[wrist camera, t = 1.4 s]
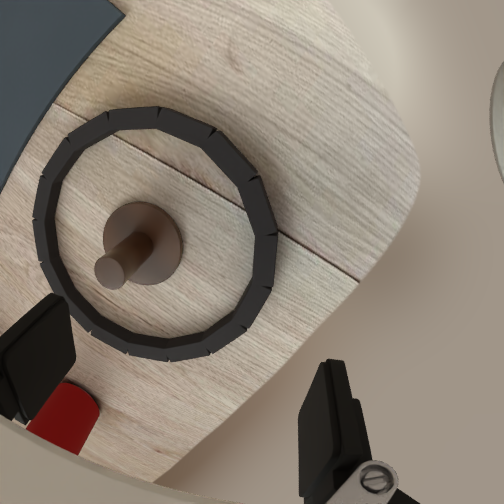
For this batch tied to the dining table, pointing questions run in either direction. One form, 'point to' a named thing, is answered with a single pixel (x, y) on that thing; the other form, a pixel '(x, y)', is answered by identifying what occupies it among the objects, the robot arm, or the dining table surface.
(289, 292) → the dining table surface
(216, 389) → the dining table surface
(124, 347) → the ring
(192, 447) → the dining table surface
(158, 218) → the brown peg stand
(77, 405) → the beverage can
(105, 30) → the mat
